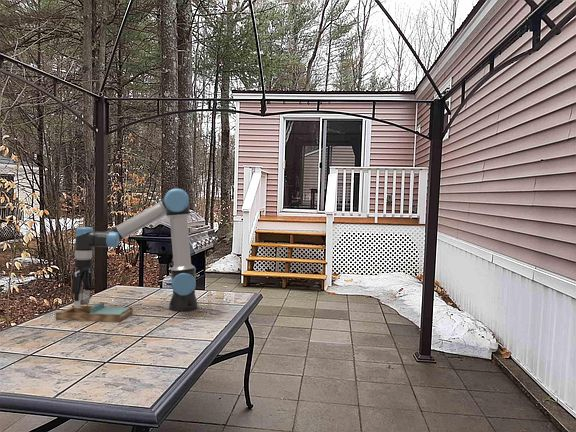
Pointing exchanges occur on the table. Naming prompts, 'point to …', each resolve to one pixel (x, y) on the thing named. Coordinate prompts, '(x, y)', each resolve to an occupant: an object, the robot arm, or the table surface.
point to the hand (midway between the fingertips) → (81, 305)
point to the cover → (107, 310)
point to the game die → (84, 297)
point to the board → (90, 315)
